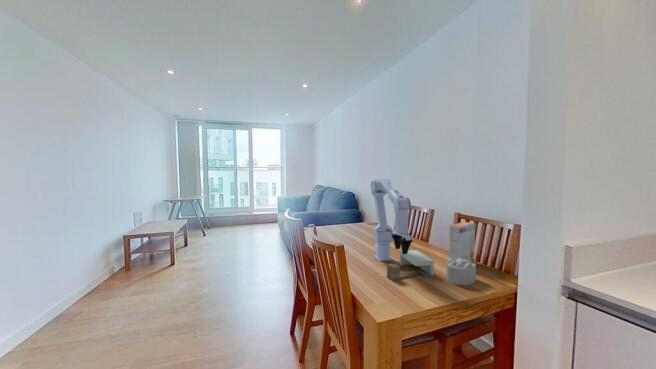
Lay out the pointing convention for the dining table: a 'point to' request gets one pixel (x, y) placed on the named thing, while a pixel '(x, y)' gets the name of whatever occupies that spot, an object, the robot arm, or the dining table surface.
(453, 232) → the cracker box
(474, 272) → the lumpy-topped squat cylinder
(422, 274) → the grey square block
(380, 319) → the dining table surface
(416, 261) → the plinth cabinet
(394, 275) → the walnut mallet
